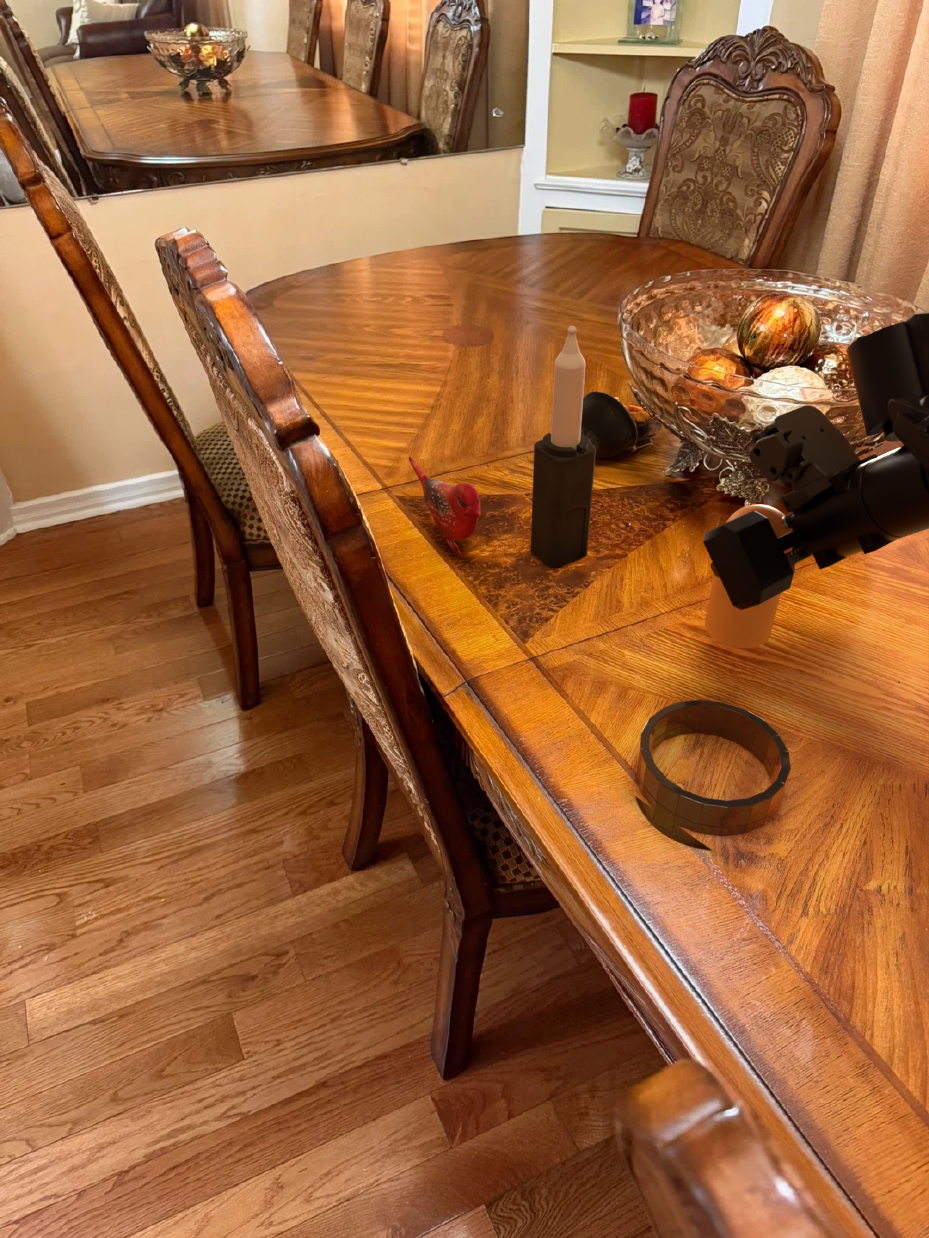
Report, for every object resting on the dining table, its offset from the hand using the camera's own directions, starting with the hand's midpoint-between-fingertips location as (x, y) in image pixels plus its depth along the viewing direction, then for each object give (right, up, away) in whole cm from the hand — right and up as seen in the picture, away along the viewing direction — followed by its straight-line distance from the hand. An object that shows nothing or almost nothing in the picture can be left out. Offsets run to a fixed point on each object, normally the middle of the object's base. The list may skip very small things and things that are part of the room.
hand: (738, 558), depth 74 cm
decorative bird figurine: (-25, +4, +25) cm, 36 cm away
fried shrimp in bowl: (-1, +17, +42) cm, 45 cm away
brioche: (+1, -6, +3) cm, 7 cm away
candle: (-13, +2, +23) cm, 26 cm away
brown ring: (-4, -19, -4) cm, 20 cm away
